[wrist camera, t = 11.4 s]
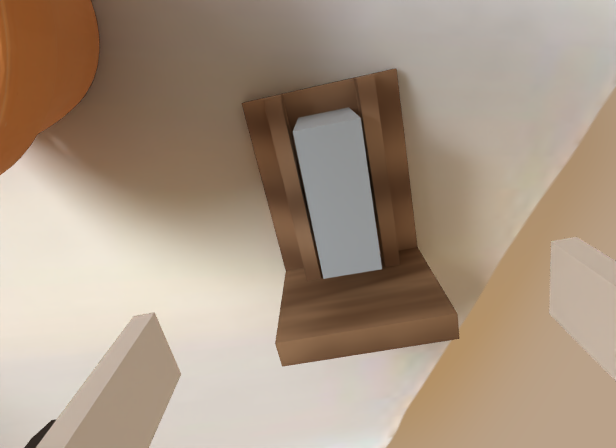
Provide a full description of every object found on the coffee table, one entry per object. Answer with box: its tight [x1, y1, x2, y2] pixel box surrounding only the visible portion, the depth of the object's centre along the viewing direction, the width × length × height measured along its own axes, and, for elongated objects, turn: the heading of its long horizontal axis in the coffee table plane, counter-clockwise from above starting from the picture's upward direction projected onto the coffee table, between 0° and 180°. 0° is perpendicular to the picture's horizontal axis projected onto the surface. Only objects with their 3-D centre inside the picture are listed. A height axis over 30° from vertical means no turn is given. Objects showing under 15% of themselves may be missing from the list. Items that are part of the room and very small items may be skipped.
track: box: [242, 69, 459, 366], centre depth 27 cm, size 17×12×11 cm
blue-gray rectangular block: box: [293, 107, 382, 279], centre depth 27 cm, size 10×4×8 cm, turn 11°
